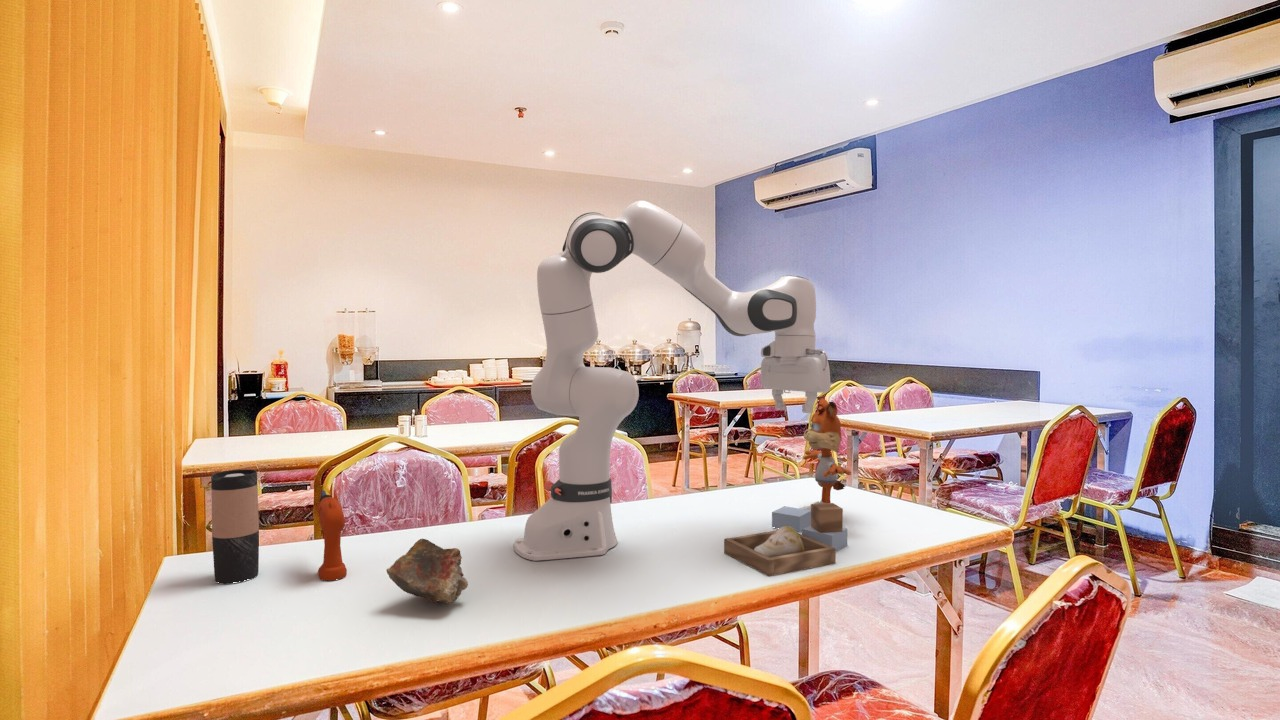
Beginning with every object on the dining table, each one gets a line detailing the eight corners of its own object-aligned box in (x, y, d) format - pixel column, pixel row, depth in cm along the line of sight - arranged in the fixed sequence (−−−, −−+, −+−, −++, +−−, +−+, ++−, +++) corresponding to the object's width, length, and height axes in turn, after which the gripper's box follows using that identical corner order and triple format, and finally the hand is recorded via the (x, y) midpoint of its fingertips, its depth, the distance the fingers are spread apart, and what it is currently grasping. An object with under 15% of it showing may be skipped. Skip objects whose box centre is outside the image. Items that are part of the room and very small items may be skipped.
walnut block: (842, 531, 143) (842, 508, 143) (820, 532, 143) (820, 509, 142) (832, 525, 148) (832, 503, 148) (810, 526, 148) (811, 503, 147)
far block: (799, 533, 156) (799, 516, 155) (771, 528, 160) (771, 512, 160) (811, 527, 161) (811, 510, 161) (784, 522, 165) (784, 506, 165)
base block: (832, 554, 141) (832, 535, 141) (802, 547, 146) (802, 529, 145) (847, 546, 146) (847, 528, 146) (817, 540, 151) (817, 522, 151)
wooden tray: (768, 576, 127) (768, 560, 127) (724, 552, 141) (724, 538, 141) (835, 563, 134) (835, 548, 134) (786, 542, 148) (786, 528, 148)
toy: (788, 504, 182) (788, 393, 181) (830, 504, 182) (830, 393, 181) (812, 536, 152) (812, 404, 151) (862, 537, 152) (863, 404, 151)
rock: (442, 585, 123) (441, 531, 123) (488, 600, 116) (487, 543, 116) (382, 607, 113) (381, 549, 113) (429, 625, 106) (428, 563, 106)
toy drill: (335, 544, 143) (335, 476, 141) (349, 582, 127) (349, 507, 125) (310, 548, 141) (309, 479, 139) (321, 587, 125) (320, 510, 123)
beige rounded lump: (743, 562, 136) (758, 515, 139) (783, 580, 138) (798, 534, 141) (759, 565, 129) (775, 515, 132) (802, 584, 131) (817, 535, 134)
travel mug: (263, 568, 133) (260, 468, 132) (256, 581, 126) (253, 475, 125) (218, 573, 130) (215, 471, 129) (208, 587, 123) (206, 478, 122)
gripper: (838, 349, 142) (836, 414, 142) (778, 350, 160) (776, 408, 160) (815, 348, 139) (813, 415, 139) (756, 349, 158) (755, 408, 158)
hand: (793, 411), depth 150 cm, fingers open, 8 cm apart
